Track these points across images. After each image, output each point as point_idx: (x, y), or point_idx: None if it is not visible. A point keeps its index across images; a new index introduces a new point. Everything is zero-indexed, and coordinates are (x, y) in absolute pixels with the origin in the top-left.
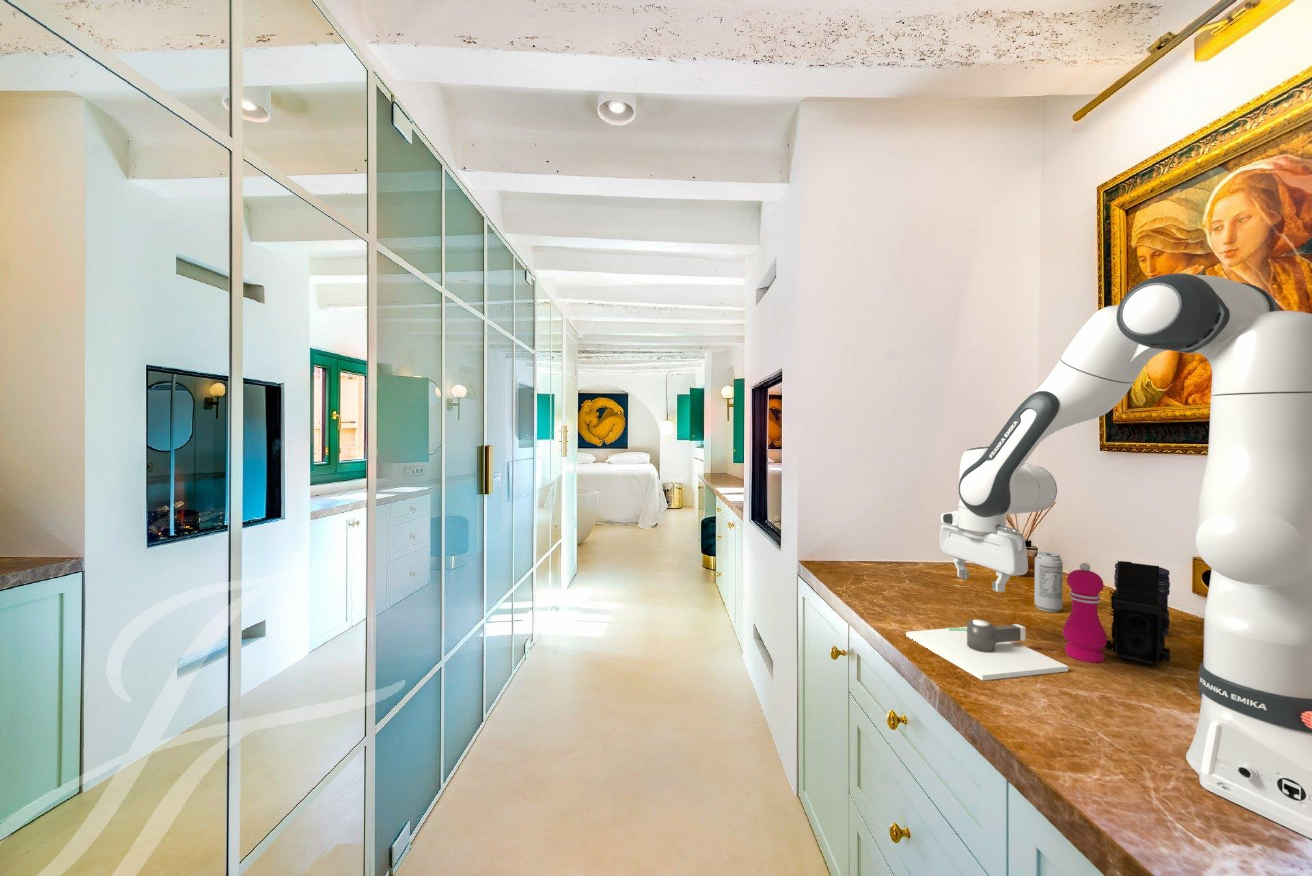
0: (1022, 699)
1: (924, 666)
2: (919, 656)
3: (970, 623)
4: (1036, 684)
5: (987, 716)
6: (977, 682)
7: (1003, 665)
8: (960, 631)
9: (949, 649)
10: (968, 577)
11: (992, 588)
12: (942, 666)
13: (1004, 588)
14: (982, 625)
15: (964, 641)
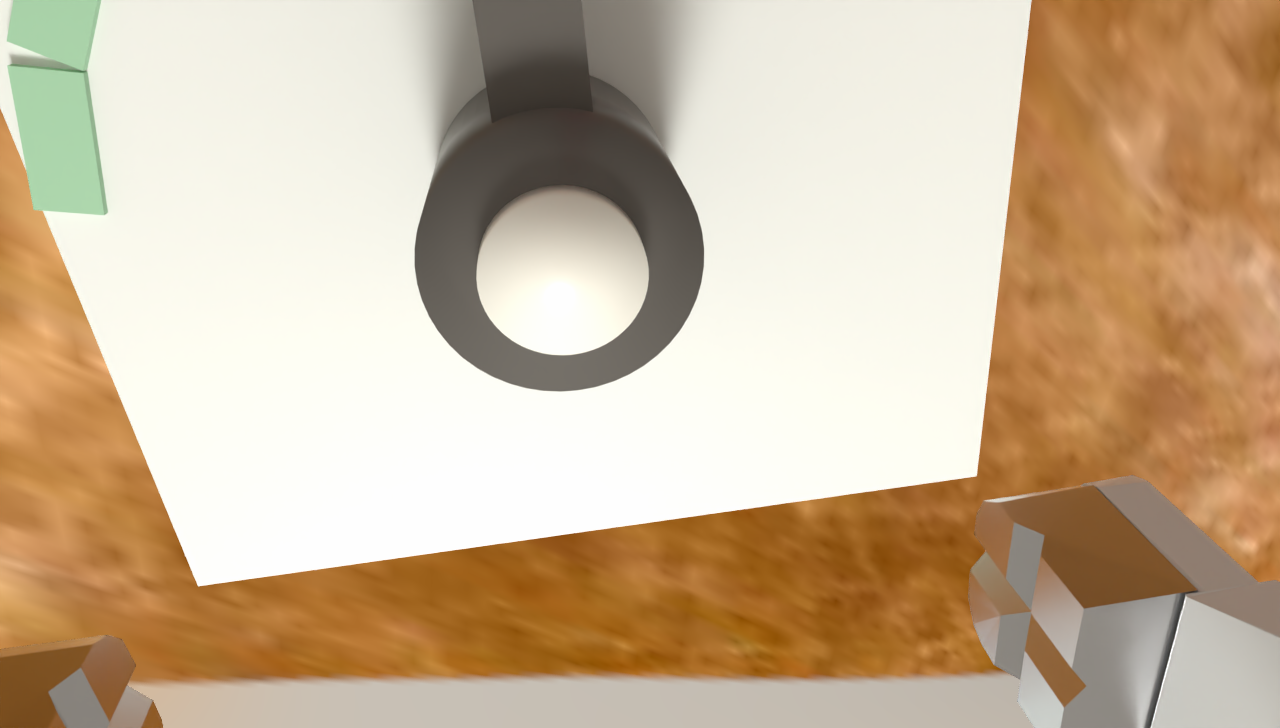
0: (1204, 383)
1: (723, 655)
2: (585, 624)
3: (515, 354)
4: (1113, 150)
5: None
6: (969, 494)
7: (895, 241)
8: (117, 107)
9: (568, 454)
10: (101, 643)
11: (995, 642)
12: (741, 567)
13: (1173, 513)
14: (634, 304)
15: (404, 240)
